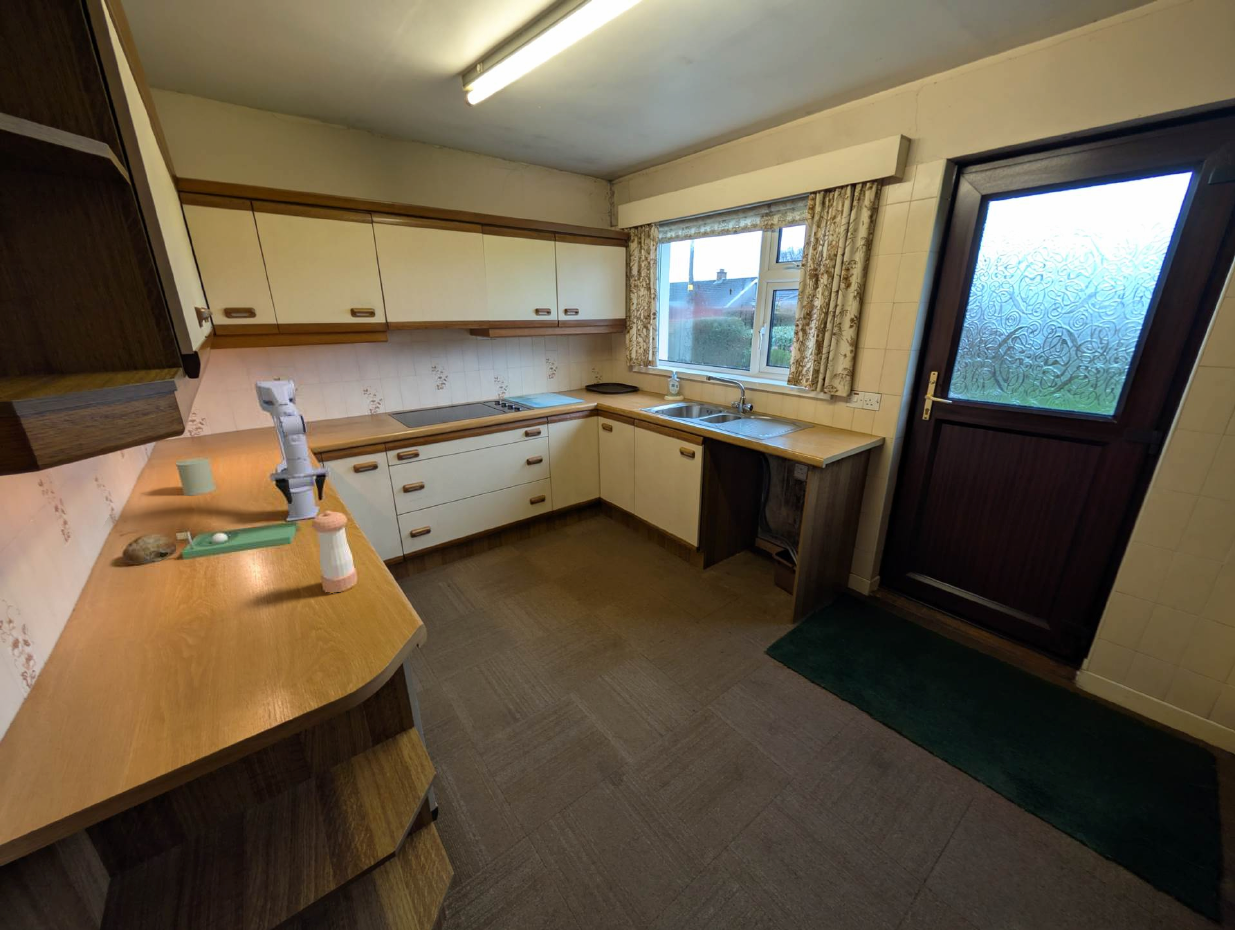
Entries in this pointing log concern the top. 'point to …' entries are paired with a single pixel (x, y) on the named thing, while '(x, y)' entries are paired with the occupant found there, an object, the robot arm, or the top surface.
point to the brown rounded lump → (148, 549)
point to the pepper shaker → (334, 552)
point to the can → (196, 476)
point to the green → (239, 539)
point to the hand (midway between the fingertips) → (305, 501)
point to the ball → (219, 538)
